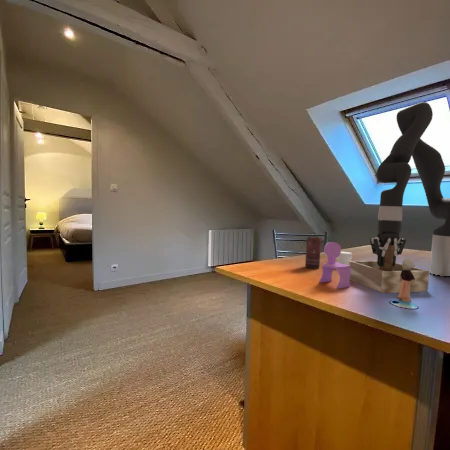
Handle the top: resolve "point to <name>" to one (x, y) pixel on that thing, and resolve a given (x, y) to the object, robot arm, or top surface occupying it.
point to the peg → (388, 259)
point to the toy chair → (335, 266)
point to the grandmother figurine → (406, 280)
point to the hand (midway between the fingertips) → (386, 265)
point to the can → (313, 252)
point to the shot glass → (344, 258)
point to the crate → (386, 277)
